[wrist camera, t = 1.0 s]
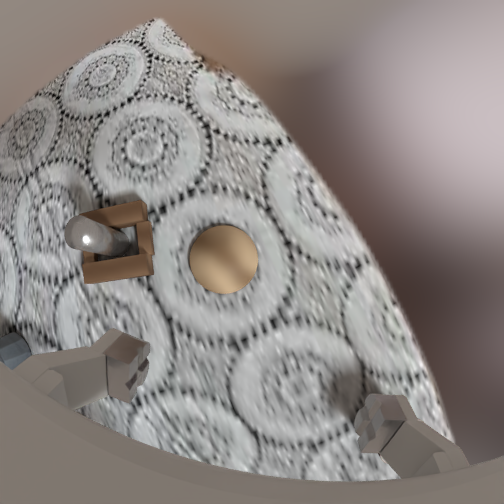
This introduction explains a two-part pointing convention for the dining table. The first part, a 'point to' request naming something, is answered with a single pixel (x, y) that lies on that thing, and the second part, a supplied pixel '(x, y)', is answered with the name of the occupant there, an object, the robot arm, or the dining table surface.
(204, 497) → the robot arm
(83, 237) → the grey rounded cylinder
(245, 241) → the cork pad
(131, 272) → the cradle
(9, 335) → the moka pot
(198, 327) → the dining table surface
